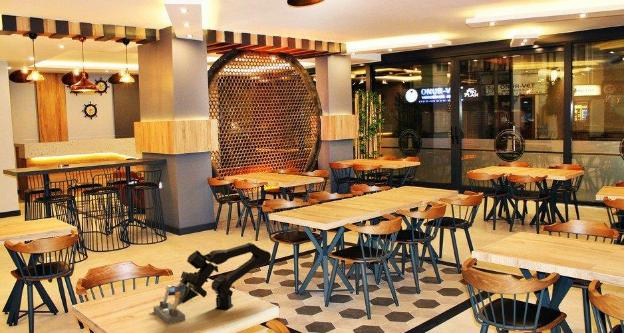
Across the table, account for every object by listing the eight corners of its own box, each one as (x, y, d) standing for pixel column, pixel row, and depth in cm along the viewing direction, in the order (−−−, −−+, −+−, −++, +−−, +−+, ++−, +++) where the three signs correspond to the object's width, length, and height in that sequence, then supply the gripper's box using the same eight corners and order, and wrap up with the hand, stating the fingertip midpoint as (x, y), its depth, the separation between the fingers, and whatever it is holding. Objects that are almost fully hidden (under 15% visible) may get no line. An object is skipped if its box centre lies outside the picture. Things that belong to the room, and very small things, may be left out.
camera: (170, 288, 299) (169, 274, 298) (190, 286, 300) (189, 273, 299) (167, 295, 286) (166, 281, 285) (188, 294, 287) (187, 280, 287)
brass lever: (176, 315, 251) (182, 293, 252) (171, 314, 249) (177, 292, 250) (174, 313, 253) (180, 291, 254) (169, 312, 251) (175, 291, 252)
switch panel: (185, 320, 251) (184, 310, 250) (168, 324, 246) (167, 314, 246) (170, 307, 267) (169, 298, 267) (153, 311, 263) (153, 302, 263)
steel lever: (166, 307, 262) (172, 286, 262) (161, 306, 260) (167, 285, 261) (165, 305, 264) (170, 284, 265) (159, 305, 262) (165, 284, 263)
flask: (177, 304, 272) (176, 283, 271) (173, 303, 273) (172, 282, 272) (191, 298, 279) (190, 278, 278) (187, 298, 281) (186, 277, 280)
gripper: (183, 260, 262) (162, 288, 257) (198, 269, 247) (176, 298, 242) (200, 273, 267) (179, 300, 262) (216, 282, 252) (194, 311, 247)
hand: (182, 302), depth 253 cm, fingers closed
